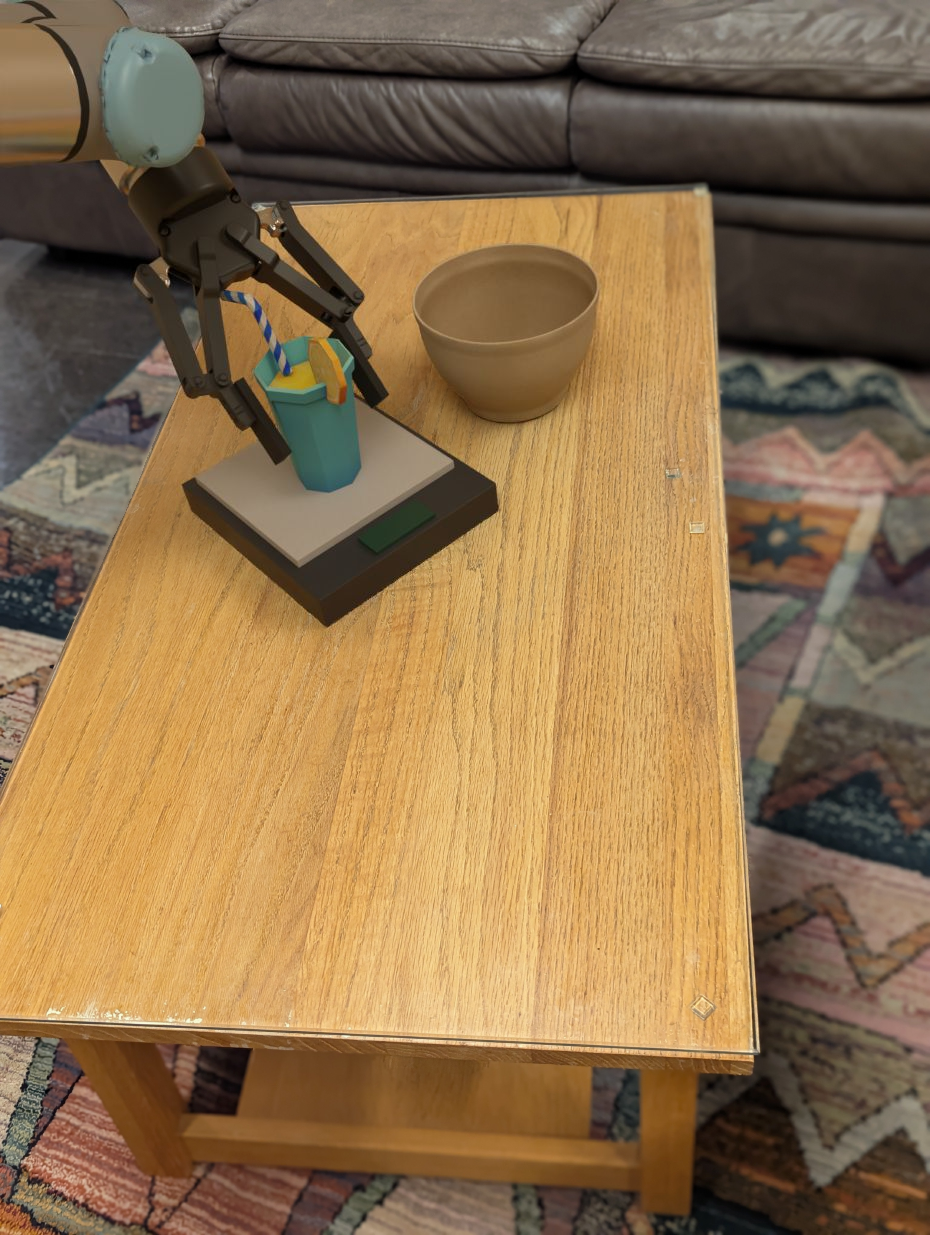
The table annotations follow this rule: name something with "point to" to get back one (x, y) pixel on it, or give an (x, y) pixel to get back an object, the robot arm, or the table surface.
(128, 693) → the table surface
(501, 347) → the planter bowl
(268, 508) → the scale
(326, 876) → the table surface
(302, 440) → the cup
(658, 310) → the table surface
